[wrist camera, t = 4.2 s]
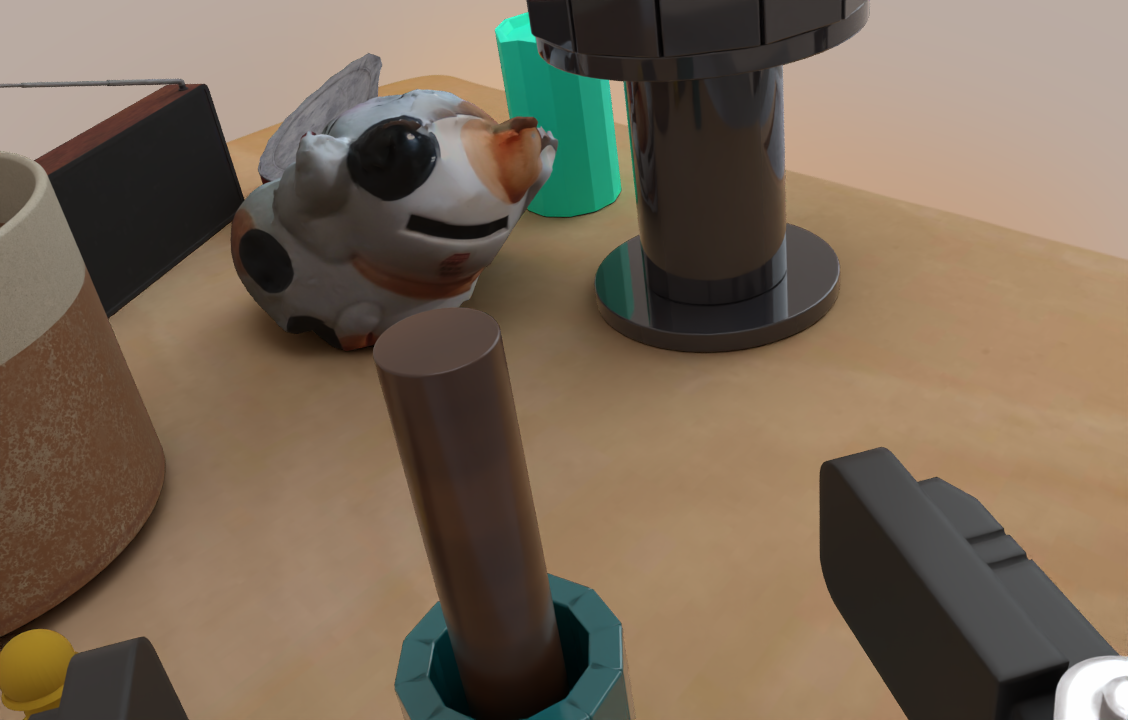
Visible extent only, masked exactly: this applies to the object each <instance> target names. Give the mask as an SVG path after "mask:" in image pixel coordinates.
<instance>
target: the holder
mask: <svg viewBox="0 0 1128 720" xmlns="http://www.w3.org/2000/svg"><path fill="white" fill-rule="evenodd" d="M547 574H548V573H547ZM548 580H549V585H550V590H551V595H552V600H553V606H554V611H555V616H556V621H557V626H558V632H559V637H560V642H561V647H562V652H563V657H564V663H565V668H566V673H567V678H568V683H569V689H570V693H569V694H568V695H567V697H566V698H565V699H563V700H561V701H559V702H557V703H555V704H554V705H552V706H550V707H548V708H546V709H544V710H542V711H540V712H538V713H537V714H535V715H533V716H531V717H529V718H527V719H519V720H636V716H635V709H634V702H633V696H632V689H631V682H630V675H629V668H628V661H627V655H626V648H625V641H624V634H623V628H622V624H621V622H620V621H619V620H618V618H617V617H616V616H615V615H614V614H613V612H612V611H611V610H610V609H609V608H608V606H607V605H606V604H605V603H604V602H603V600H602V599H601V598H600V597H599V596H598V594H597V593H596V592H595V591H594V590H593V589H590V588H589V587H586V586H583V585H580V584H577V583H574V582H572V581H569V580H566V579H563V578H560V577H557V576H554V575H551V574H548ZM394 686H395V692H396V695H397V698H398V701H399V704H400V707H401V710H402V714H403V717H404V720H475V719H473V718H471V714H470V711H469V707H468V703H467V700H466V696H465V692H464V689H463V685H462V681H461V678H460V674H459V670H458V667H457V663H456V659H455V656H454V652H453V648H452V645H451V641H450V637H449V634H448V630H447V626H446V623H445V619H444V615H443V612H442V608H441V604H440V601H438V602H437V603H436V604H435V605H434V606H433V607H432V608H431V609H430V611H429V612H428V613H427V614H426V615H425V616H424V617H423V618H422V620H421V621H420V622H419V623H418V624H417V625H416V626H415V627H414V628H413V630H412V631H411V632H410V633H409V634H408V635H407V636H406V638H405V640H404V641H403V645H402V650H401V655H400V659H399V664H398V669H397V674H396V679H395V684H394Z"/></svg>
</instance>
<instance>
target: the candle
mask: <svg viewBox="0 0 1128 720" xmlns="http://www.w3.org/2000/svg"><path fill="white" fill-rule="evenodd" d="M495 33H496V39H497V45H498V51H499V57H500V63H501V69H502V75H503V81H504V87H505V93H506V99H507V105H508V111H509V117H510V119H512V118H514V117H517V116H520V117H535V118H536V120H537V121H538V125H537V128H541V127H542V128H543V129H544V130H545V132H546V133H547V131H551V133H552V135H553V137H554V138H555V139H557V140H558V147H557V151H556V154H555V158H554V162H553V165H552V169H553V170H552V172H551V176H550V177H549V178H548V180H547V181H546V182H545V184H544V185H543V186H542V188H541V189H540V190H539V191H538V193H537V194H536V196H535V197H534V199H533V200H532V201H531V203H530V204H529V206H528V207H527V209H528V210H529V211H531V212H534V213H537V214H540V215H542V216H548V217H572V216H576V215H581V214H586V213H590V212H595V211H597V210H599V209H601V208H603V207H605V206H607V205H609V204H611V203H613V202H615V200H616V198H617V197H618V195H619V194H620V192H621V182H620V173H619V164H618V155H617V146H616V138H615V129H614V120H613V111H612V102H611V94H610V85H609V80H604V79H596V78H590V77H584V76H580V75H576V74H572V73H568V72H565V71H562V70H560V69H557V68H555V67H553V66H551V65H550V64H548V63H547V62H545V61H544V60H543V59H542V58H541V57H540V55H539V53H538V51H537V46H536V39H535V36H533V34H532V33H531V27H530V21H529V14H528V12H527V13H524V14H520V15H518V16H514V17H511V18H508V19H505V20H504V21H503V22H502V23H501V24H500V25H499V26H498V27H497V28H496V29H495Z"/></svg>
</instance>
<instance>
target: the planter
mask: <svg viewBox="0 0 1128 720" xmlns="http://www.w3.org/2000/svg"><path fill="white" fill-rule="evenodd" d="M164 475H165V457H164V453H163V449H162V446H161V444H160V441H159V439H158V436H157V434H156V432H155V429H154V427H153V425H152V422H151V420H150V417H149V415H148V413H147V410H146V408H145V406H144V403H143V401H142V398H141V396H140V394H139V391H138V389H137V387H136V384H135V382H134V379H133V377H132V375H131V372H130V370H129V368H128V365H127V363H126V360H125V358H124V356H123V353H122V351H121V349H120V346H119V344H118V341H117V339H116V337H115V334H114V332H113V330H112V327H111V325H110V323H109V320H108V318H107V315H106V313H105V311H104V308H103V306H102V304H101V301H100V299H99V296H98V294H97V292H96V289H95V287H94V285H93V282H92V280H91V277H90V275H89V273H88V270H87V268H86V266H85V263H84V261H83V258H82V256H81V254H80V251H79V249H78V247H77V244H76V242H75V240H74V237H73V235H72V232H71V230H70V228H69V225H68V223H67V221H66V218H65V216H64V213H63V211H62V209H61V206H60V204H59V202H58V199H57V197H56V195H55V192H54V190H53V187H52V185H51V183H50V180H49V178H48V176H47V174H46V172H45V170H44V169H43V168H42V167H41V166H40V165H39V164H38V163H37V162H35V161H33V160H31V159H29V158H27V157H25V156H22V155H18V154H15V153H9V152H4V151H0V637H1V636H3V635H6V634H7V633H9V632H11V631H13V630H15V629H17V628H19V627H21V626H23V625H25V624H27V623H28V622H30V621H32V620H34V619H35V618H37V617H39V616H40V615H42V614H44V613H45V612H47V611H49V610H50V609H52V608H53V607H55V606H56V605H58V604H59V603H61V602H62V601H64V600H65V599H67V598H68V597H69V596H71V595H72V594H74V593H75V592H76V591H78V590H79V589H80V588H82V587H83V586H84V585H85V584H87V583H88V582H89V581H90V580H92V579H93V578H94V577H95V576H96V575H98V574H99V573H100V572H101V571H102V570H103V569H104V568H106V567H107V566H108V565H109V564H110V563H111V562H112V561H113V560H114V559H115V558H116V557H117V556H118V555H119V554H120V553H121V552H122V551H123V550H124V549H125V548H126V546H127V545H128V544H129V543H130V542H131V541H132V540H133V538H134V537H135V536H136V535H137V533H138V532H139V531H140V529H141V528H142V527H143V525H144V524H145V522H146V521H147V519H148V517H149V516H150V514H151V513H152V511H153V509H154V507H155V505H156V503H157V500H158V498H159V495H160V492H161V489H162V485H163V481H164Z"/></svg>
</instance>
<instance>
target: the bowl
mask: <svg viewBox="0 0 1128 720" xmlns="http://www.w3.org/2000/svg"><path fill="white" fill-rule="evenodd" d="M527 7H528V14H529V21H530V27H531V33H532V34H533V36H535V39H536V46H537V51H538V53H539V55H540V57H541V58H542V59H543V60H544V61H545V62H547V63H548V64H550V65H551V66H553V67H555V68H557V69H560V70H562V71H565V72H568V73H572V74H576V75H580V76H584V77H590V78H596V79H604V80H614V81H623V82H624V91H625V101H626V110H627V120H628V130H629V139H630V149H631V158H632V168H633V177H634V187H635V196H636V206H637V216H638V225H639V235H638V236H636V237H634V238H632V239H630V240H628V241H626V242H625V243H623V244H621V245H620V246H618V247H617V248H616V249H615V250H613V251H612V252H611V253H610V254H609V255H608V256H607V257H606V258H605V259H604V260H603V262H602V263H601V264H600V266H599V268H598V270H597V272H596V275H595V281H594V287H595V295H596V302H597V307H598V309H599V312H600V314H601V315H602V317H603V318H604V319H605V321H606V322H607V323H608V324H609V325H610V326H611V327H613V328H614V329H615V330H617V331H618V332H620V333H621V334H623V335H625V336H627V337H629V338H631V339H633V340H636V341H639V342H641V343H644V344H647V345H651V346H655V347H659V348H664V349H670V350H676V351H688V352H721V351H732V350H740V349H747V348H751V347H756V346H761V345H765V344H768V343H772V342H775V341H778V340H781V339H784V338H786V337H789V336H792V335H794V334H796V333H798V332H800V331H802V330H804V329H806V328H807V327H809V326H810V325H812V324H814V323H815V322H817V321H818V320H819V319H820V318H821V317H823V316H824V315H825V314H826V313H827V312H828V311H829V309H830V308H831V307H832V306H833V304H834V302H835V301H836V299H837V297H838V293H839V290H840V264H839V260H838V257H837V255H836V254H835V252H834V250H833V249H832V248H831V247H830V245H829V244H828V243H826V242H825V241H824V240H823V239H821V238H820V237H819V236H817V235H815V234H813V233H812V232H810V231H807V230H805V229H803V228H801V227H798V226H795V225H792V224H789V223H786V191H785V149H784V148H785V147H784V102H783V65H785V64H788V63H792V62H795V61H799V60H802V59H805V58H808V57H811V56H814V55H816V54H819V53H822V52H824V51H826V50H829V49H831V48H833V47H835V46H838V45H839V44H841V43H843V42H845V41H846V40H848V39H850V38H851V37H853V36H854V35H855V34H856V33H858V32H859V31H860V30H861V29H862V28H863V27H864V26H865V24H866V22H867V20H868V18H869V14H870V0H527Z"/></svg>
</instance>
